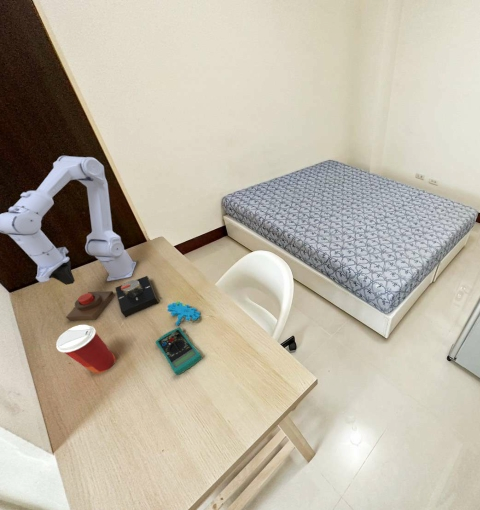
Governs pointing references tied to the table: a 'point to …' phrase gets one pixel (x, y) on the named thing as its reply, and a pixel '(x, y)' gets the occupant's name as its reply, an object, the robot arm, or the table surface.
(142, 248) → the table surface
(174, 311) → the blue toy tree
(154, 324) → the table surface
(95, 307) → the button block
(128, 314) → the dial panel
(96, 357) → the paper cup
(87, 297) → the button
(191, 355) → the digital multimeter
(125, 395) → the table surface
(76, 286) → the table surface
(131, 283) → the dial
